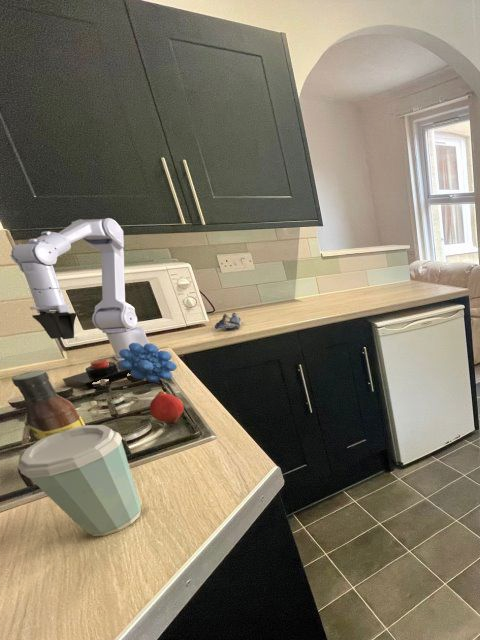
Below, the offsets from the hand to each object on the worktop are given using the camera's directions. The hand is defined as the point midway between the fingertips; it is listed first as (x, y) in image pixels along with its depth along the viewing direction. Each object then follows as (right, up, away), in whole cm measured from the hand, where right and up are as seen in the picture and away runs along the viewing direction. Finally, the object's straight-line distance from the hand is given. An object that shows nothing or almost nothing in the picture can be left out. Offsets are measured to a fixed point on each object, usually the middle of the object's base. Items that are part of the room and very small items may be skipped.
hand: (62, 338), depth 118 cm
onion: (+50, -22, -23) cm, 60 cm away
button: (+8, -8, +3) cm, 12 cm away
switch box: (+9, -11, +4) cm, 15 cm away
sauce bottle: (+47, -29, -40) cm, 68 cm away
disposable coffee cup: (+66, -35, -54) cm, 92 cm away
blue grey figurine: (+14, +10, +52) cm, 55 cm away
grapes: (+27, -13, -1) cm, 30 cm away
